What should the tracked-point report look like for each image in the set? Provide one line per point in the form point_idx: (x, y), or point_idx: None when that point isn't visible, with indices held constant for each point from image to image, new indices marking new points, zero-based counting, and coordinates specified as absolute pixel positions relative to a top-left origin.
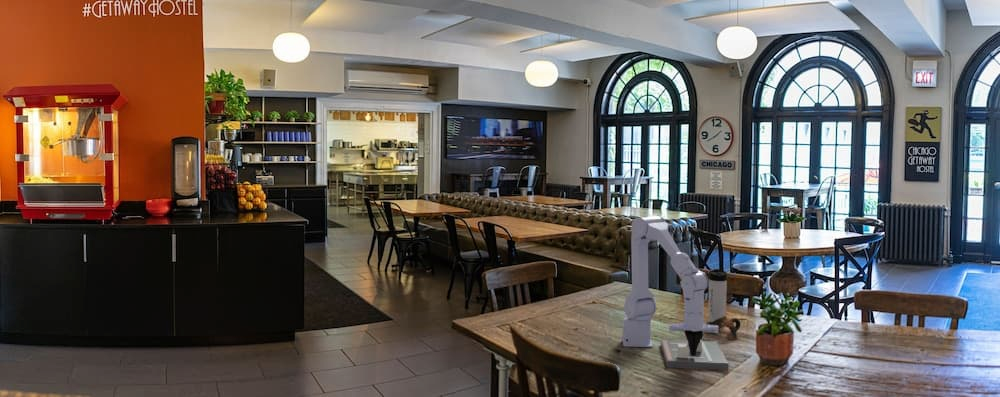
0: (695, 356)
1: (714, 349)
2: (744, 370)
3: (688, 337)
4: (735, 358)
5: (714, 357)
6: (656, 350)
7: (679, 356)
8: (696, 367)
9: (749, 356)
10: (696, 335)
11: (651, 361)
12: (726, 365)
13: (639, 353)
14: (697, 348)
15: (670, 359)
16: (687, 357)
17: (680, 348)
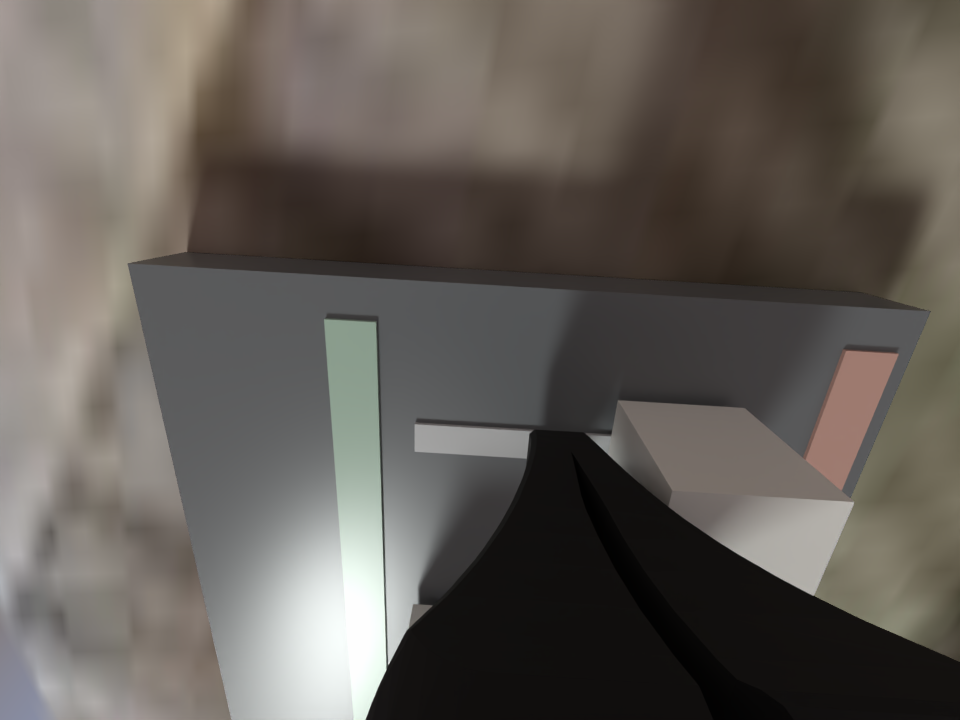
0: (506, 487)
1: (278, 671)
2: (13, 244)
3: (881, 650)
4: (128, 564)
5: (294, 464)
6: None
7: (743, 416)
8: (534, 275)
9: (18, 608)
10: (650, 712)
11: (941, 463)
12: (173, 260)
13: (942, 644)
14: None
15: (868, 358)
16: (635, 406)
17: (806, 483)
